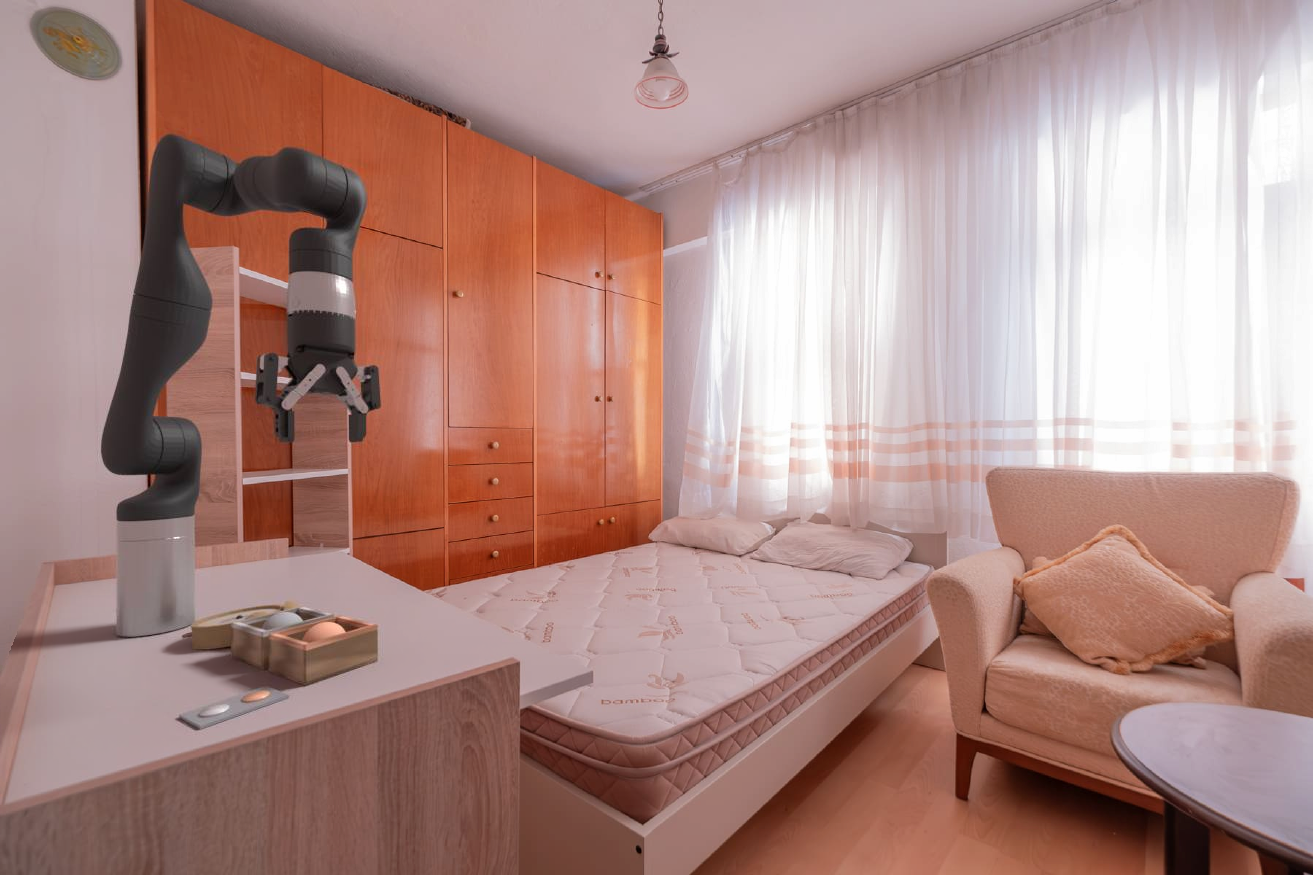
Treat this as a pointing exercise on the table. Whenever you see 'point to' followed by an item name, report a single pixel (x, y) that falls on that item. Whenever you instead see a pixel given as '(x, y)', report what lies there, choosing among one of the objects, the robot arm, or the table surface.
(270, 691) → the card
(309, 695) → the table surface
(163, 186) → the robot arm
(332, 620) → the terracotta-rimmed square box
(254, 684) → the table surface
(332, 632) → the terracotta ball
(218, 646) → the alarm clock
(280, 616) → the grey ball
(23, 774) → the table surface
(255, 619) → the grey-band box
